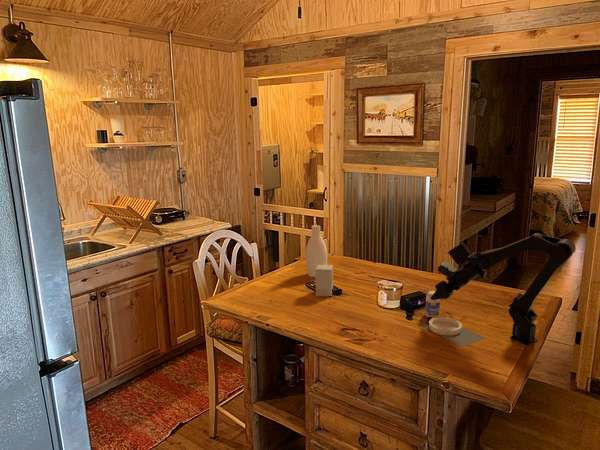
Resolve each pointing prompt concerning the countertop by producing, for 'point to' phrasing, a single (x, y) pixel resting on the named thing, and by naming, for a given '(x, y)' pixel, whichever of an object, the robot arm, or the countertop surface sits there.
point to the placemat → (460, 336)
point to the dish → (445, 326)
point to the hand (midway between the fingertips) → (436, 295)
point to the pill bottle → (432, 306)
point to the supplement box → (324, 280)
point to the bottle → (315, 251)
